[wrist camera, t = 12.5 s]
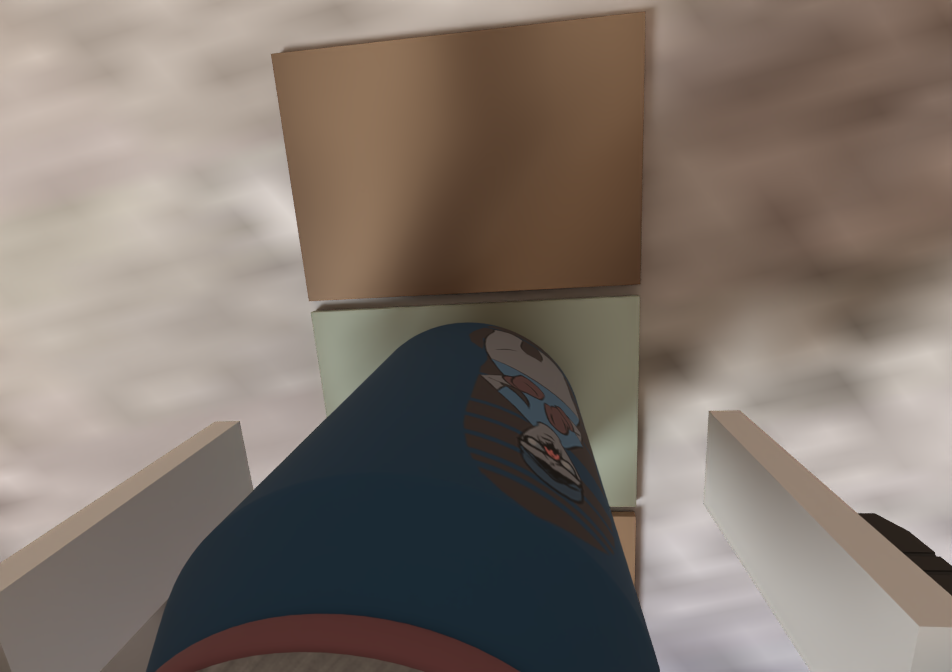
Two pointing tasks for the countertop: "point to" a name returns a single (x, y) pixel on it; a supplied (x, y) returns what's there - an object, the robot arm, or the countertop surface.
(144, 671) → the die
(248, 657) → the soda can
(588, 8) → the countertop surface
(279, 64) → the game board
